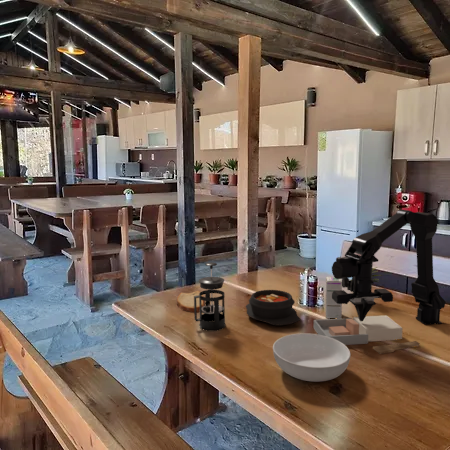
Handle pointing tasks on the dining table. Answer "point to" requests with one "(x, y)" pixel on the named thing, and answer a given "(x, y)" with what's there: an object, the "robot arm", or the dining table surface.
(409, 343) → the wooden spatula
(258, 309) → the casserole
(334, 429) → the dining table surface
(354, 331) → the tile
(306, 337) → the serving bowl
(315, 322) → the tray
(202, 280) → the french press
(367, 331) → the white flat box
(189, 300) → the bread slice
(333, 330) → the tile
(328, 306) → the syrup box
